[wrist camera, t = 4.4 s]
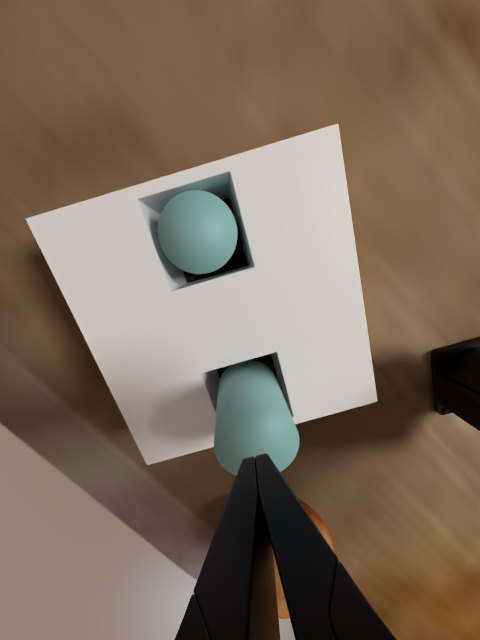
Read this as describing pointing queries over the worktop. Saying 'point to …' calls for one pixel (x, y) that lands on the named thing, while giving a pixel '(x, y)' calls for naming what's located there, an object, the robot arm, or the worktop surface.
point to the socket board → (220, 292)
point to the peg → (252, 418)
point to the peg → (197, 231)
